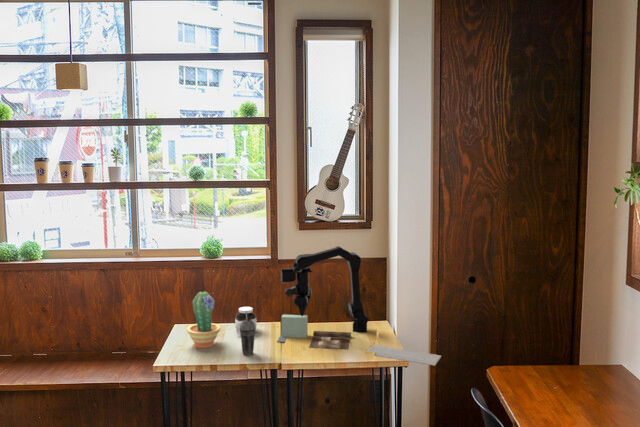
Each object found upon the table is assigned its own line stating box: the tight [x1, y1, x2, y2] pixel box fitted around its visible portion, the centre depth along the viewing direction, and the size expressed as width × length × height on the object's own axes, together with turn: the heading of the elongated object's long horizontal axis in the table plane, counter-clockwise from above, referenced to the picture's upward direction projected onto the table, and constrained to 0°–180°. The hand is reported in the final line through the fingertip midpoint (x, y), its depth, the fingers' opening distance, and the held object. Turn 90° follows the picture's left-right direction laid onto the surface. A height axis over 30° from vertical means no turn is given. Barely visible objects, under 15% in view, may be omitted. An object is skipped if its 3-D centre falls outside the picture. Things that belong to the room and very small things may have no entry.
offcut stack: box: [318, 337, 341, 348], centre depth 276 cm, size 10×4×4 cm, turn 83°
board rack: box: [308, 330, 352, 351], centre depth 281 cm, size 18×18×3 cm
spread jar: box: [234, 306, 258, 337], centre depth 296 cm, size 12×11×12 cm
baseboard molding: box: [366, 342, 442, 367], centre depth 266 cm, size 31×3×12 cm
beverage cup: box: [239, 311, 257, 357], centre depth 267 cm, size 7×7×20 cm
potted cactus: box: [186, 291, 221, 349], centre depth 278 cm, size 15×15×25 cm
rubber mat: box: [276, 332, 288, 344], centre depth 290 cm, size 14×16×1 cm
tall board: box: [280, 314, 309, 339], centre depth 289 cm, size 12×4×10 cm, turn 83°
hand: (303, 312), depth 291 cm, fingers open, 9 cm apart
